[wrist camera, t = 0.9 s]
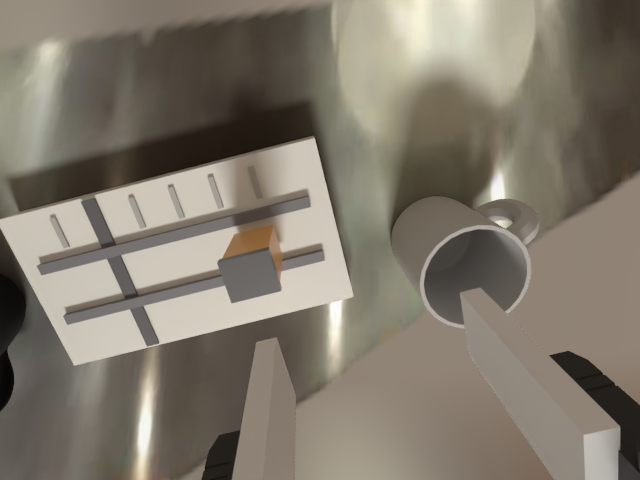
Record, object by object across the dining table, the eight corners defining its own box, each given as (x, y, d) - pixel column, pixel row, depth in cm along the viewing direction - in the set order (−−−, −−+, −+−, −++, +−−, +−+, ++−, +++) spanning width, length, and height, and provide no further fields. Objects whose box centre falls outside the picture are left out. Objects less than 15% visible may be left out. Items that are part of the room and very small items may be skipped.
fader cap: (243, 267, 30) (231, 303, 25) (232, 233, 29) (216, 263, 24) (284, 256, 30) (281, 291, 25) (274, 222, 29) (268, 250, 24)
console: (89, 348, 35) (71, 369, 33) (19, 211, 31) (-9, 222, 28) (349, 283, 35) (354, 299, 32) (313, 135, 31) (315, 138, 28)
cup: (373, 226, 33) (398, 267, 25) (477, 157, 32) (542, 175, 23) (416, 289, 35) (453, 347, 27) (516, 227, 34) (588, 266, 25)
